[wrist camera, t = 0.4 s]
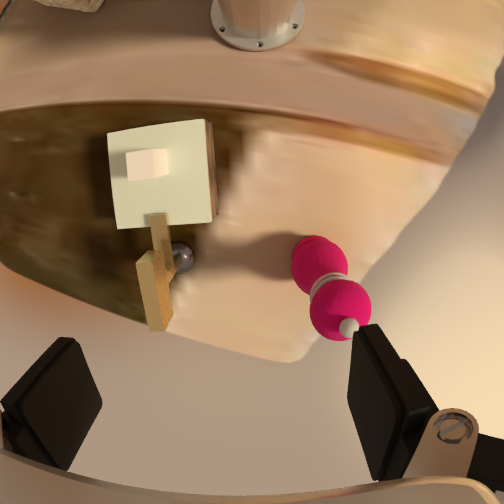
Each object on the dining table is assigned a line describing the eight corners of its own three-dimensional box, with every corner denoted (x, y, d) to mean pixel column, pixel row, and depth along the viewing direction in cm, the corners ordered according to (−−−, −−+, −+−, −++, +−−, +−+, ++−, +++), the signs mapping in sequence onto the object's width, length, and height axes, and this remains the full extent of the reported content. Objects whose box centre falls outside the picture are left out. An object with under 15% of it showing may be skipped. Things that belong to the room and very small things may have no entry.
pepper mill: (286, 279, 45) (304, 366, 26) (291, 230, 43) (316, 293, 24) (334, 281, 45) (379, 365, 26) (341, 233, 43) (399, 295, 24)
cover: (111, 133, 34) (87, 132, 29) (204, 119, 34) (194, 113, 28) (121, 226, 38) (99, 240, 32) (212, 220, 38) (203, 233, 32)
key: (163, 206, 41) (129, 229, 29) (178, 205, 41) (147, 227, 29) (174, 286, 45) (148, 331, 33) (187, 285, 45) (165, 331, 33)
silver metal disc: (162, 242, 44) (160, 244, 43) (192, 240, 44) (191, 243, 43) (166, 271, 45) (165, 274, 44) (196, 270, 45) (194, 273, 44)
